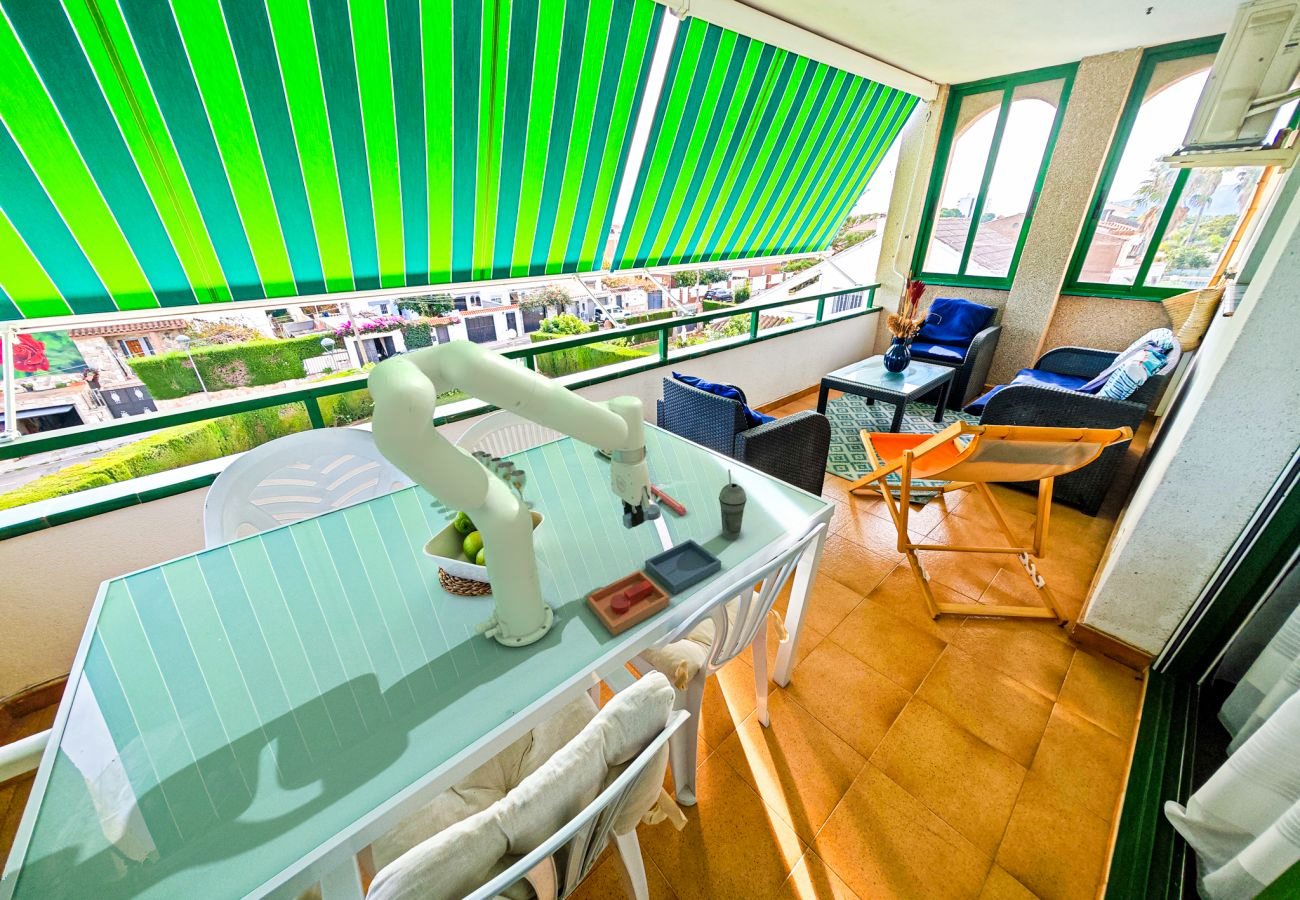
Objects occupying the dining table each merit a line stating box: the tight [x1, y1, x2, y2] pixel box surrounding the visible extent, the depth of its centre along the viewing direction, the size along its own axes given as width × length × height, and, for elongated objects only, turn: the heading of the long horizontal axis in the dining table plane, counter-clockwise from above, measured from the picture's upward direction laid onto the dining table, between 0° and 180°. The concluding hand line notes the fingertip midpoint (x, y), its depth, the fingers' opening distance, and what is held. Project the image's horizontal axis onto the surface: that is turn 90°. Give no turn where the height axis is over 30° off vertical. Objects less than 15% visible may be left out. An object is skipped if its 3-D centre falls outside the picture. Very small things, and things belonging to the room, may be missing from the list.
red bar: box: [650, 483, 687, 516], centre depth 145 cm, size 24×2×5 cm
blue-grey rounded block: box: [622, 503, 662, 530], centre depth 110 cm, size 10×4×3 cm, turn 127°
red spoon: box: [610, 581, 652, 614], centre depth 102 cm, size 10×4×3 cm, turn 126°
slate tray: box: [644, 539, 722, 595], centre depth 113 cm, size 15×12×2 cm
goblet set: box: [470, 450, 531, 509], centre depth 148 cm, size 28×6×13 cm, turn 49°
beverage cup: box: [718, 468, 748, 541], centre depth 121 cm, size 7×7×20 cm
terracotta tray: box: [585, 569, 670, 637], centre depth 102 cm, size 15×12×2 cm
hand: (634, 521), depth 109 cm, fingers closed on blue-grey rounded block, 2 cm apart
